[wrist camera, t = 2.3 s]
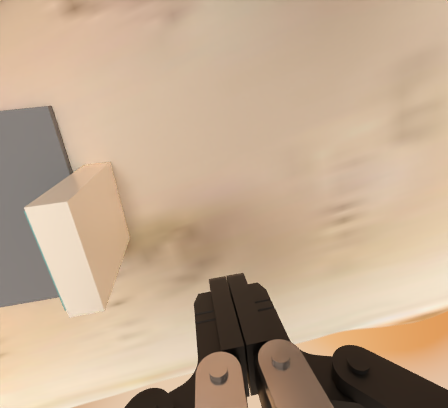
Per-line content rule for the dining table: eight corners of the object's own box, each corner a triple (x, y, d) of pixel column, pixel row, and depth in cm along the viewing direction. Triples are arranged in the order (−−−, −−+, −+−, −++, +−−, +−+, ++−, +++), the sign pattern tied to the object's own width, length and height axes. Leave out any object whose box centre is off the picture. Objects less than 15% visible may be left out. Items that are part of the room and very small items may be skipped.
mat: (-120, 123, 18) (-130, 123, 18) (51, 106, 19) (47, 106, 19) (-17, 306, 24) (-22, 311, 24) (108, 284, 25) (107, 288, 25)
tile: (80, 165, 21) (18, 208, 13) (110, 161, 21) (67, 201, 13) (104, 241, 24) (64, 318, 16) (130, 238, 24) (104, 311, 16)
